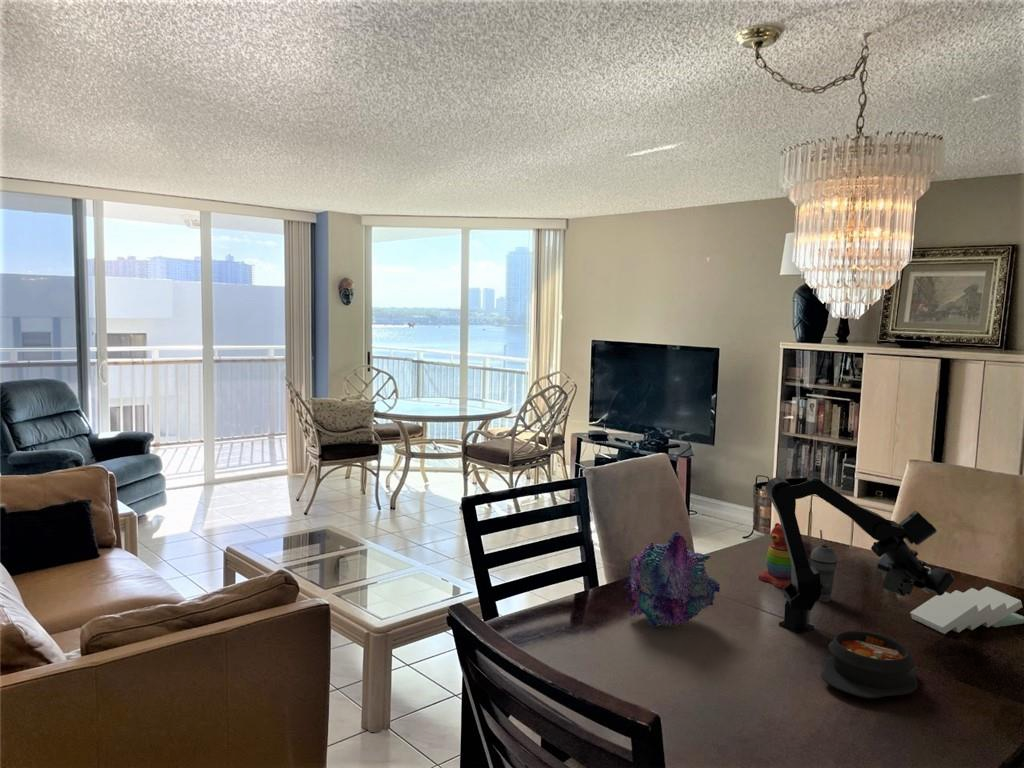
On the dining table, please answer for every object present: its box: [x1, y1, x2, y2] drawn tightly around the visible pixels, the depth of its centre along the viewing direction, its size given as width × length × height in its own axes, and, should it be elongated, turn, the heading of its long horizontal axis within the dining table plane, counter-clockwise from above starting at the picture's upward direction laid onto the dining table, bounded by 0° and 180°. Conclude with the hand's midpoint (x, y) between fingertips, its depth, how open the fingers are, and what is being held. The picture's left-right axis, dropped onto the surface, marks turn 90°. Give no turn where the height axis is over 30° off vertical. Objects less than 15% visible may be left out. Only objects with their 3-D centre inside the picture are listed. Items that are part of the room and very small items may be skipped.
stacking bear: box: [758, 522, 792, 590], centre depth 216 cm, size 11×10×18 cm
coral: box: [623, 530, 721, 628], centre depth 183 cm, size 25×21×25 cm
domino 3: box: [963, 587, 1007, 631], centre depth 189 cm, size 2×10×12 cm
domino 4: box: [979, 586, 1023, 628], centre depth 191 cm, size 2×10×12 cm
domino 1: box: [909, 591, 978, 635], centre depth 186 cm, size 2×10×12 cm
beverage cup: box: [809, 529, 839, 603], centre depth 203 cm, size 7×7×20 cm
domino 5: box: [990, 612, 1024, 628], centre depth 192 cm, size 2×10×12 cm
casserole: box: [820, 630, 919, 700], centre depth 155 cm, size 25×19×8 cm
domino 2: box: [950, 589, 992, 634], centre depth 188 cm, size 2×10×12 cm
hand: (929, 591), depth 184 cm, fingers closed
